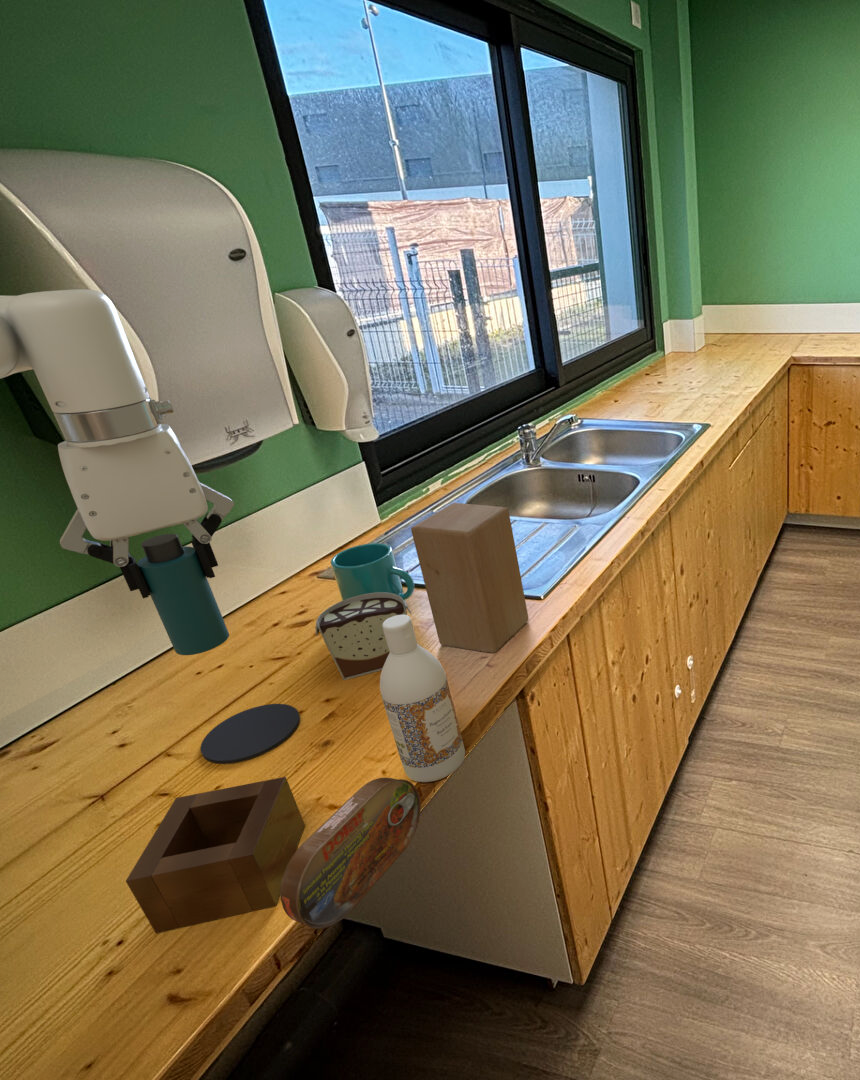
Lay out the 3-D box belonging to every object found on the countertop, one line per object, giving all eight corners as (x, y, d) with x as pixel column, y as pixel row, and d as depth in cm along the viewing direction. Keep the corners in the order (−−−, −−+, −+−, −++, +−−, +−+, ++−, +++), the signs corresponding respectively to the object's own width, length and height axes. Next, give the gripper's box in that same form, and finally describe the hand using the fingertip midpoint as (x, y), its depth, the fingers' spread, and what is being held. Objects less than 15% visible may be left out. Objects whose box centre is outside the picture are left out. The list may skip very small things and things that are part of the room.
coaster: (186, 772, 84) (184, 768, 84) (221, 715, 94) (220, 712, 94) (286, 753, 87) (284, 750, 86) (310, 700, 96) (309, 697, 96)
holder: (155, 933, 65) (125, 881, 62) (200, 847, 74) (175, 797, 71) (276, 906, 67) (252, 854, 64) (305, 825, 76) (285, 776, 73)
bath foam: (433, 792, 80) (390, 644, 71) (392, 773, 83) (347, 629, 74) (478, 754, 85) (444, 612, 77) (438, 737, 88) (401, 599, 80)
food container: (420, 639, 109) (405, 583, 105) (423, 659, 104) (408, 601, 100) (333, 661, 105) (313, 603, 101) (331, 683, 100) (311, 623, 95)
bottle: (166, 658, 77) (119, 553, 72) (187, 634, 82) (143, 533, 76) (218, 650, 78) (176, 546, 73) (236, 627, 83) (197, 527, 77)
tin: (317, 950, 63) (288, 884, 59) (291, 940, 64) (261, 875, 60) (430, 823, 76) (412, 763, 72) (406, 816, 76) (388, 757, 73)
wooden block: (438, 645, 107) (408, 527, 99) (477, 613, 116) (453, 501, 108) (494, 654, 104) (468, 533, 96) (530, 620, 113) (509, 506, 105)
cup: (407, 630, 112) (390, 568, 107) (337, 629, 113) (318, 567, 108) (433, 601, 120) (419, 542, 115) (368, 601, 121) (351, 542, 117)
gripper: (204, 400, 77) (257, 548, 85) (-7, 435, 66) (75, 601, 74) (219, 410, 72) (273, 567, 80) (-8, 450, 61) (81, 626, 69)
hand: (177, 582), depth 77 cm, fingers closed on bottle, 5 cm apart
